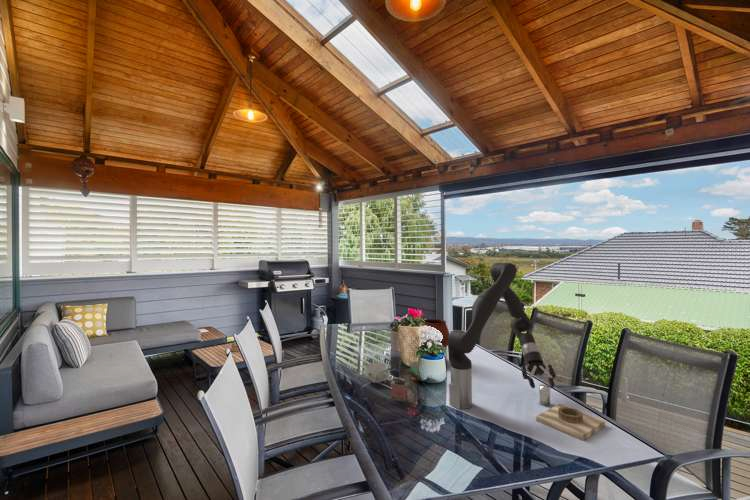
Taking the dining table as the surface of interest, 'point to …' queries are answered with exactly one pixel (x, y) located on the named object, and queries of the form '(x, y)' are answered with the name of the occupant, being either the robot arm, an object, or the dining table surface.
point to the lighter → (399, 389)
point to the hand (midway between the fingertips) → (543, 387)
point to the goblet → (439, 328)
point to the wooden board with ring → (571, 421)
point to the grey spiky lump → (376, 372)
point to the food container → (415, 371)
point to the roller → (544, 395)
